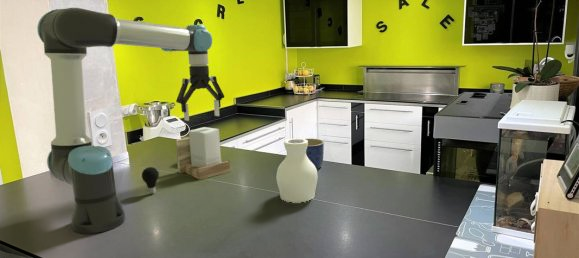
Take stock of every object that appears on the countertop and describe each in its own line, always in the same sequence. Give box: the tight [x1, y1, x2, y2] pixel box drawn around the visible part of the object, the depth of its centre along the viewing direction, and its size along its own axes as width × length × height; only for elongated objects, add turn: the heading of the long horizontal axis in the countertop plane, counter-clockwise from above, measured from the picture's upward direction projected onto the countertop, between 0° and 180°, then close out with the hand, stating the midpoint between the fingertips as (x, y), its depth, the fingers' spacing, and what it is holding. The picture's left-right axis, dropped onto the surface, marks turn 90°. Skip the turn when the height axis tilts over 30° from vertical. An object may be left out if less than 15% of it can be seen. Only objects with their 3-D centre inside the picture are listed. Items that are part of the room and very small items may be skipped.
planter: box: [305, 138, 325, 170], centre depth 181 cm, size 12×12×11 cm
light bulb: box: [141, 166, 160, 195], centre depth 155 cm, size 6×6×10 cm
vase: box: [275, 137, 318, 204], centre depth 147 cm, size 14×14×20 cm
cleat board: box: [175, 136, 231, 180], centre depth 179 cm, size 15×18×14 cm
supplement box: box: [188, 126, 222, 168], centre depth 178 cm, size 9×9×15 cm
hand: (202, 118), depth 174 cm, fingers open, 13 cm apart
